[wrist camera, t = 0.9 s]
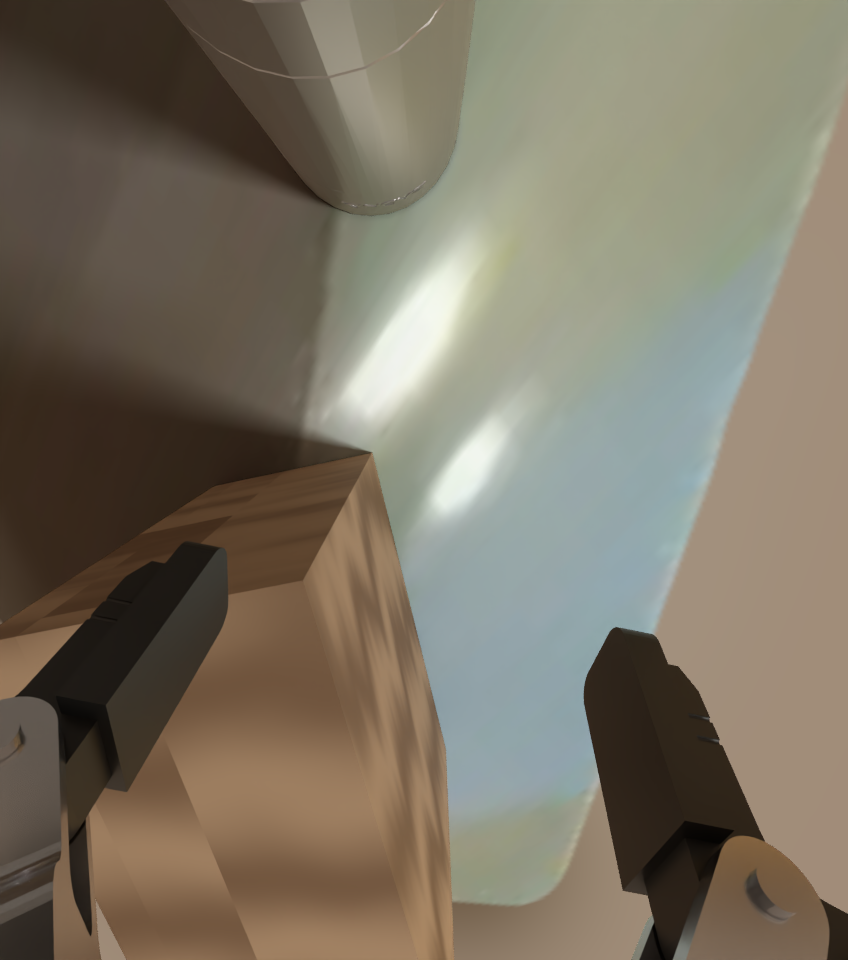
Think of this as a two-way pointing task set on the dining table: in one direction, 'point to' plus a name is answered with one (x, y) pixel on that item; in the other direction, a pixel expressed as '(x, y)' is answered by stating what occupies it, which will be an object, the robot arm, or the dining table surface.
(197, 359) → the dining table surface
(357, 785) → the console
